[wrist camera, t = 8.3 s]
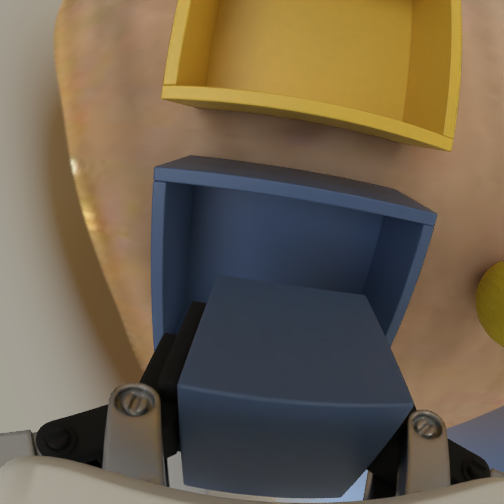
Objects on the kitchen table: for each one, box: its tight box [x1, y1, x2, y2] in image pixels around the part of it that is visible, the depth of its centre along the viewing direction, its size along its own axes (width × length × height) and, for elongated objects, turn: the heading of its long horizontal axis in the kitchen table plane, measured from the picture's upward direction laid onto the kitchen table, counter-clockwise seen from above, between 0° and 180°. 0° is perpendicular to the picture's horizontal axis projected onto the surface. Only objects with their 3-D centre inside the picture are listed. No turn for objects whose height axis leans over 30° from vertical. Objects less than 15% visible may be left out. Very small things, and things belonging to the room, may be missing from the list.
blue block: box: [177, 275, 414, 498], centre depth 9 cm, size 5×5×5 cm
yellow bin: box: [161, 0, 462, 152], centre depth 11 cm, size 10×12×6 cm
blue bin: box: [151, 155, 437, 351], centre depth 16 cm, size 10×12×6 cm
